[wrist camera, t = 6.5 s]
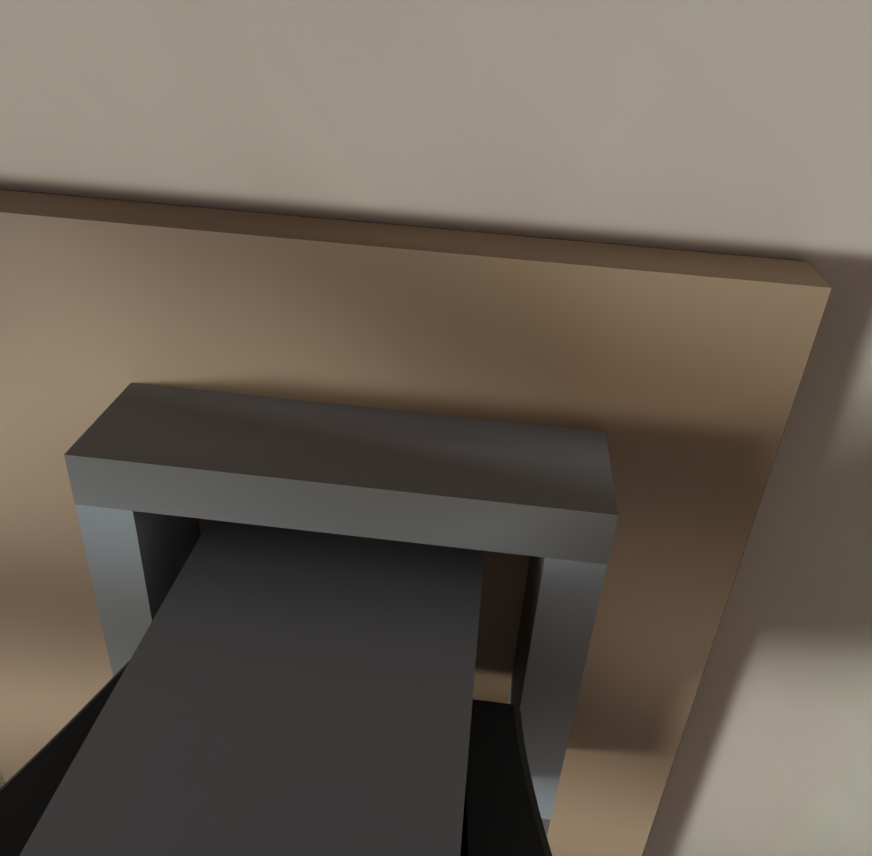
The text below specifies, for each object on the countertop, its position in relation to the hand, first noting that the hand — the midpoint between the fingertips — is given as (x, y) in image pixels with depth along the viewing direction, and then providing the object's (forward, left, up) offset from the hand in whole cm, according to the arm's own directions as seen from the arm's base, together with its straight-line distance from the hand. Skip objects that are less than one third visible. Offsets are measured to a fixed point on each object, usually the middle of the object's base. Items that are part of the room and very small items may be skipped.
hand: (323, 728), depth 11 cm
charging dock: (-2, +1, -4) cm, 4 cm away
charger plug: (0, 0, -2) cm, 2 cm away
